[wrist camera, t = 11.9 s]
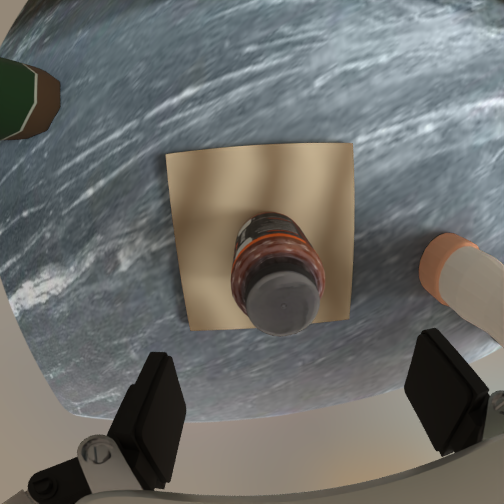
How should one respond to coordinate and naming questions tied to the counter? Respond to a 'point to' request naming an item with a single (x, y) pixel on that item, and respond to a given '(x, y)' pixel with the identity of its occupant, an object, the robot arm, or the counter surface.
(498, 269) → the pepper shaker
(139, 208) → the counter surface
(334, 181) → the birch board
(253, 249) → the supplement bottle
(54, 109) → the beer bottle
